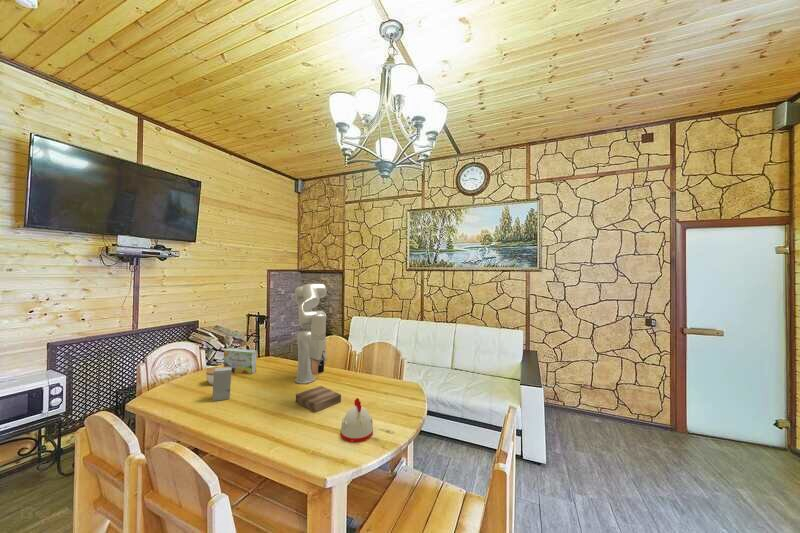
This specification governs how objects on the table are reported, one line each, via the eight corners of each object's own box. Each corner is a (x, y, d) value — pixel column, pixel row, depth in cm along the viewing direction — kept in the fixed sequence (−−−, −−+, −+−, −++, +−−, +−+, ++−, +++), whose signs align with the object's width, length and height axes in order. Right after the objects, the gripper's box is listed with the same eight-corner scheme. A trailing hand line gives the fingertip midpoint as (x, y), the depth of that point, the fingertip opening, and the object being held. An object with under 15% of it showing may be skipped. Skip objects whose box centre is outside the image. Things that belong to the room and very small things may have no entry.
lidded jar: (229, 382, 184) (230, 367, 184) (211, 387, 175) (211, 371, 175) (220, 378, 190) (221, 363, 190) (202, 383, 181) (202, 368, 181)
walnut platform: (295, 401, 160) (295, 394, 160) (320, 392, 172) (320, 385, 172) (315, 412, 148) (315, 404, 148) (340, 402, 160) (341, 394, 161)
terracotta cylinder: (308, 372, 159) (309, 359, 159) (318, 369, 163) (319, 356, 163) (315, 375, 155) (315, 361, 155) (325, 372, 160) (325, 359, 160)
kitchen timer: (344, 445, 121) (345, 408, 122) (337, 428, 134) (338, 394, 134) (377, 438, 127) (378, 402, 127) (367, 422, 140) (368, 390, 140)
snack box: (222, 372, 201) (223, 349, 202) (228, 369, 207) (229, 347, 207) (251, 374, 198) (251, 351, 198) (256, 371, 204) (257, 349, 204)
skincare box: (211, 402, 157) (212, 371, 157) (213, 396, 163) (214, 367, 163) (230, 399, 161) (231, 369, 161) (230, 394, 167) (231, 365, 167)
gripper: (303, 335, 162) (301, 368, 162) (321, 341, 151) (320, 376, 151) (314, 333, 168) (313, 365, 168) (334, 338, 156) (332, 373, 156)
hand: (317, 370), depth 159 cm, fingers closed on terracotta cylinder, 6 cm apart
